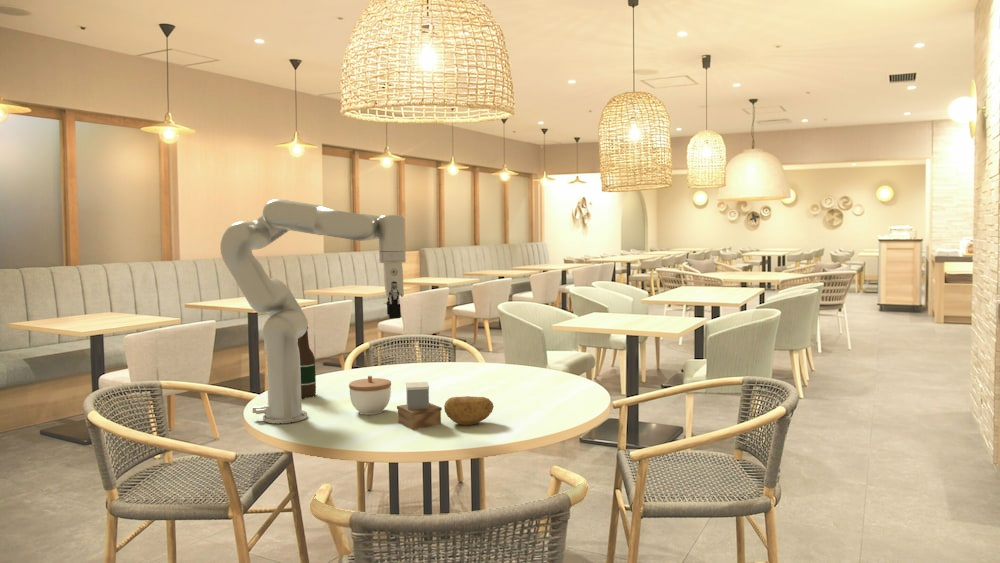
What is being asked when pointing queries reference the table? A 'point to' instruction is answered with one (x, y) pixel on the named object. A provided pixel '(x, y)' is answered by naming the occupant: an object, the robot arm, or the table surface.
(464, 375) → the table surface
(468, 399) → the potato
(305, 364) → the beer bottle
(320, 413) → the table surface
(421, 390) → the beige cube
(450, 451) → the table surface
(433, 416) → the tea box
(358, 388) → the lidded bowl
